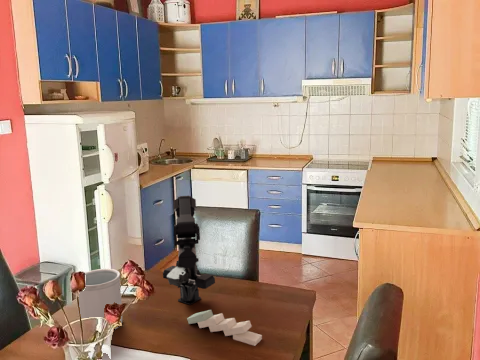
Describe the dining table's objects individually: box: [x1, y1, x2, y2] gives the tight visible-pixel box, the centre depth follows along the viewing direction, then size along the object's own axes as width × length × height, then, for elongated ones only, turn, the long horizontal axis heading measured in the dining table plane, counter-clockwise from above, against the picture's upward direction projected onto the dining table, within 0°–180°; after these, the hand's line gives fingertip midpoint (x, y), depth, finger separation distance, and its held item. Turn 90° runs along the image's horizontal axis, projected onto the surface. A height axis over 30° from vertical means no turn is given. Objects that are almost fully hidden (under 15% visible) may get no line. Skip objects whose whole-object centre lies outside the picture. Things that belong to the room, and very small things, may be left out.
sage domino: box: [186, 309, 214, 325], centre depth 148 cm, size 2×4×8 cm
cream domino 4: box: [232, 330, 263, 347], centre depth 138 cm, size 2×4×8 cm
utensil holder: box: [77, 268, 123, 330], centre depth 148 cm, size 15×15×18 cm
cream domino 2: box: [208, 317, 238, 333], centre depth 143 cm, size 2×4×8 cm
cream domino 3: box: [222, 320, 253, 337], centre depth 140 cm, size 2×4×8 cm
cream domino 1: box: [197, 312, 225, 329], centre depth 145 cm, size 2×4×8 cm
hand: (189, 300), depth 149 cm, fingers closed
